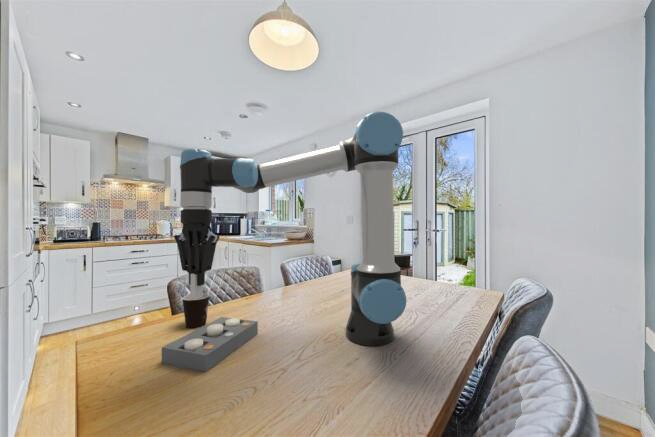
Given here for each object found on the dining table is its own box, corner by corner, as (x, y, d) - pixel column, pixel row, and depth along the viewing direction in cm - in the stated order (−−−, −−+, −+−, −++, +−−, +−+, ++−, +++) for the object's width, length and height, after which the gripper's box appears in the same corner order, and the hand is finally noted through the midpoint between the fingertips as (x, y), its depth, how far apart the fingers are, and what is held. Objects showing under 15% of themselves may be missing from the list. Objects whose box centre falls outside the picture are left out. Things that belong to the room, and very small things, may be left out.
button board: (257, 333, 87) (257, 320, 87) (205, 371, 65) (205, 354, 65) (221, 328, 91) (221, 316, 91) (161, 362, 69) (161, 346, 69)
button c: (206, 347, 72) (206, 339, 72) (194, 355, 68) (194, 347, 68) (193, 344, 73) (193, 337, 73) (180, 352, 69) (180, 344, 69)
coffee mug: (198, 330, 89) (198, 300, 89) (176, 328, 91) (176, 299, 91) (219, 318, 101) (219, 291, 101) (199, 316, 103) (199, 290, 103)
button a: (242, 325, 87) (242, 318, 87) (234, 330, 83) (234, 323, 83) (231, 323, 89) (231, 317, 89) (222, 328, 84) (222, 322, 84)
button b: (226, 331, 80) (226, 324, 80) (216, 337, 75) (216, 330, 75) (214, 329, 81) (214, 323, 81) (203, 335, 77) (203, 328, 77)
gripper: (226, 209, 73) (226, 295, 73) (188, 209, 77) (188, 292, 77) (206, 207, 66) (206, 303, 66) (165, 208, 70) (165, 299, 69)
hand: (196, 297), depth 71 cm, fingers closed
